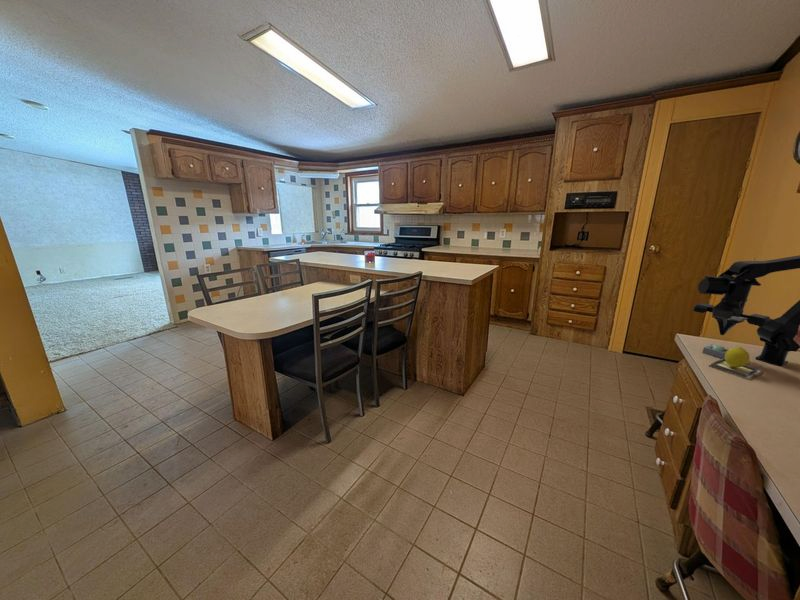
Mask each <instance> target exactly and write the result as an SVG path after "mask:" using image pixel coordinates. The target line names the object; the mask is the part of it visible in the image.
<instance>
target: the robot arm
mask: <svg viewBox="0 0 800 600" xmlns="http://www.w3.org/2000/svg"><path fill="white" fill-rule="evenodd" d="M796 269H800V255H799V254H798V255H795V256H794V255H793V256H788V257H781V258H773V259H769V260H739V261H735V262H734V263H732V264H731V265H730V266H729V268H728V269H726V270H724V272H722V273H720V274H719V275H718V276H712V275H711V276H710V275H705V276H704V279H701V281H700V282H699V283H698V285H697V291H698V293H700V294H703V295H717V296H723V297H722V298H721V299H720V301H719V302H718V303H717V304H715V305H713V304H710V303H704V302H702V303H698V304H695V305H694V306H693V308H692V309H693V310H692V311H693V312H696V313H700V314H701V313H702V314H704V313H707V312H708V313H712V314H711V315H712V316H711V318H714V319H715V320H716V322H717V324H718V330H719V335H721V336H725V335H726V334H727V333H728V332H729V331H730V330H731V329H732V328H733V327H734V326H736V324H741V323H744V322H745V321H746V322H747V323H748V324H749V325H752V326H753V325H754V326H757V327H758V328H757V329H756V333H757V335H758V337H759V341H761V342H763V343H764V345H763V348H762V350H761V352H760V354H759V355H758V356H755V358H754V359H756V360H758V361H761V362H766V363H769V364H772V365H775V366H779V367H782V366H785V365H786V364H788V363H789V361H788V360H786V358H787V356H788V354H789V353H790V352H798V350H799V349H800V345H799V344H798V342H797V341H796V340H794V339H795V337H797V335H798V333H799V328H800V299H799V300H797V302H795V304H793V305H792V306H791V307H790V308H789V309H787V310H786V311H785V312H784V313H782V315H781V316H779V317H776V318H771V317H770V316H767V315H762V314H758V313H753V314H751V315H749V314H744V311H745V310H744V309H745V306H746V303H747V302H748V297H749V294H750V291H751V289H752V286H755V287H756V286H757V287H760V286H762V284H761V283H760V282H759V281H758V280H757V279H758V278H762V277H765V276H767V275H769V274H772V273H776V272H782V271H790V270H796Z"/></svg>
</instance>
